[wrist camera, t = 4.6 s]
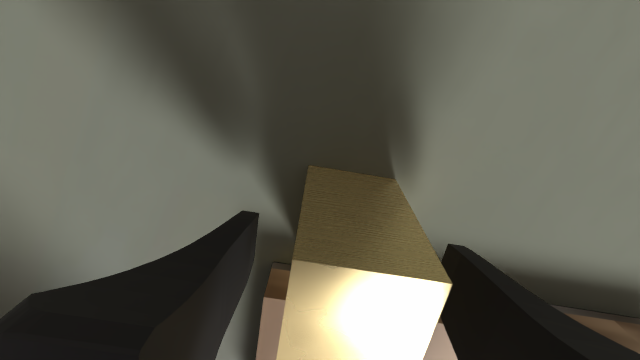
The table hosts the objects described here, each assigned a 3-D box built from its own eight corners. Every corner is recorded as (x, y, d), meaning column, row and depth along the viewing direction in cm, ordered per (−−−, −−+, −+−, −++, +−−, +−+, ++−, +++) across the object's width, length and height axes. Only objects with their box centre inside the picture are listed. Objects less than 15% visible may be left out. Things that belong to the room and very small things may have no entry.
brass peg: (296, 240, 16) (274, 373, 9) (308, 164, 14) (292, 259, 8) (375, 252, 16) (408, 391, 9) (395, 179, 14) (452, 284, 8)
